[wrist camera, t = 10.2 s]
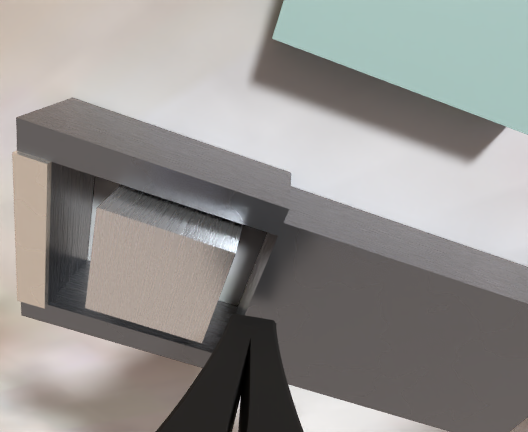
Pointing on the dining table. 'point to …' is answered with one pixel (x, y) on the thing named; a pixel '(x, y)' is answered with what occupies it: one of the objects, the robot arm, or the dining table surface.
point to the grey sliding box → (283, 273)
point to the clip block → (159, 262)
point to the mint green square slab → (425, 48)
